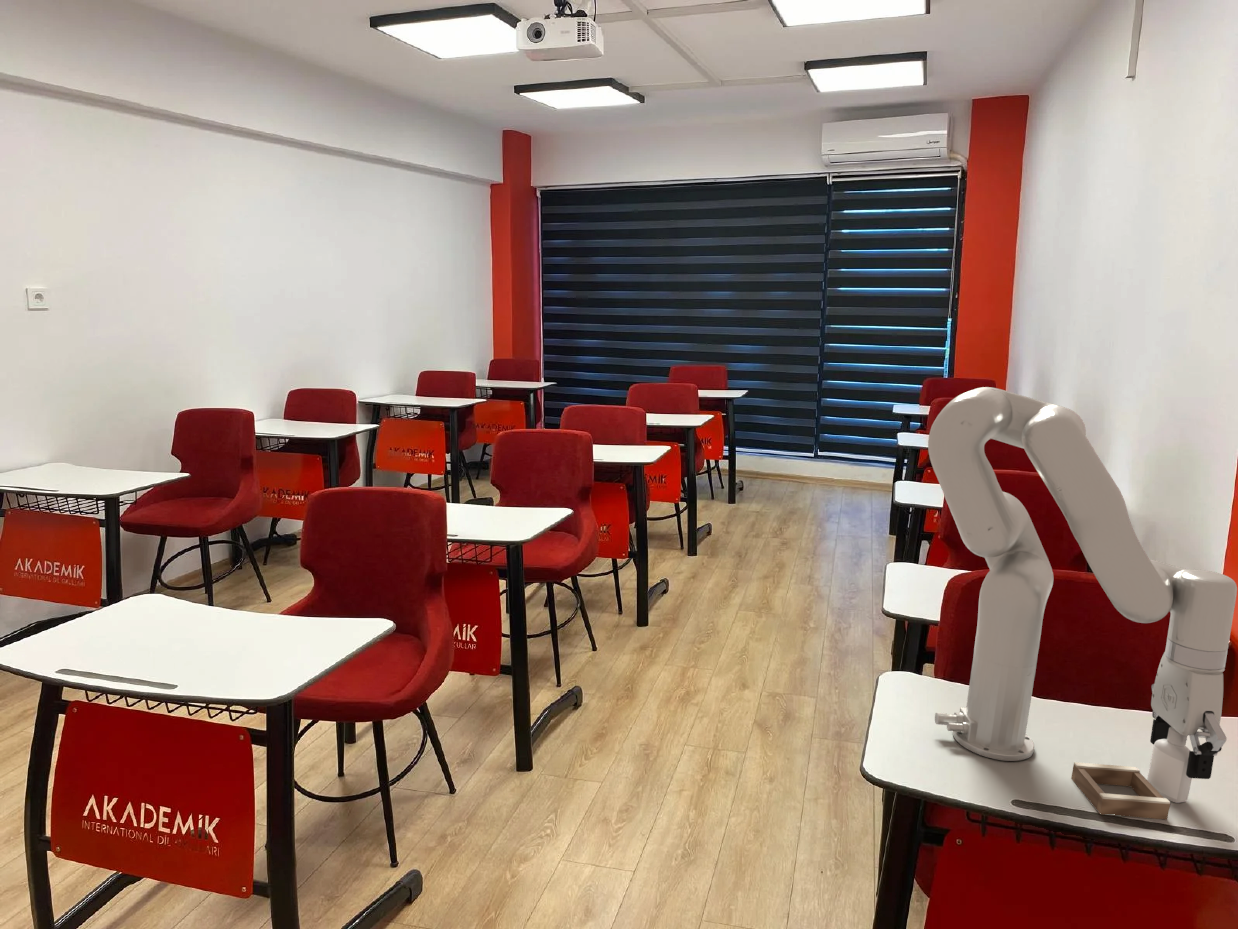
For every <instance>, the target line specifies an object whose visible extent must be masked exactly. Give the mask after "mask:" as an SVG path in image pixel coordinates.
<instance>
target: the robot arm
mask: <svg viewBox="0 0 1238 929" xmlns="http://www.w3.org/2000/svg"><path fill="white" fill-rule="evenodd" d="M934 419H935V420H934V421H933V423H932V424H931V427H930V429H929V434H928V441H927V448H928V450H927V451H928V455H929V460H930V463H931V466H932V469H933V472H934V474H935V476H936V478H937V481H938V483H939V486H940V488H941V490H942V493H943V496H944V499H945V501H946V504H947V505H948V508H949V511H950V513H951V516H952V518H953V520H954V523H955V525H956V528H957V530H958V533H959V535H960V539H961V540H962V542H963V544H964V545H965V547H966V548H967V549H968V550H969V551H970V552H971V553H972V554H974V555H975V556H978V557H980V558H981V557H982V558H984V559H985V562H986V564H987V567H988V568H989V571H988V572H987V574H986V575H985V578H984V579H983V581H982V584H981V587H980V590H979V594H978V595H979V598H978V611H977V612H978V613H977V626H976V633H975V639H974V640H975V641H974V648H973V656H972V657H973V658H972V663H971V670H970V679H969V685H968V691H967V692H968V694H967V699H966V707H964V706H962V707H961V706H960V707H959V712H954V713H953V714H950V713H944V712H935V714H934V723H935V724H936V725H937V726H938V725H941V726H946V729H947V731H948V732H949V731H950V732H952V736H953V738H954V739H955V740H956V742H958V744H960V746H962V747H963V748H965V749H966V750H968V751H970V752H972V753H974V754H977V755H979V756H983V757H985V758H990V759H992V760H998V761H1005V762H1017V761H1019V762H1020V761H1023V760H1027V759H1029V758H1030V757H1032V756H1033V754H1034V750H1035V743H1034V741H1033V740H1032V738H1031V737H1030V736H1029V735H1028V734H1027V730H1028V729H1027V727H1028V721H1029V714H1030V708H1031V703H1032V702H1031V701H1032V695H1033V688H1034V681H1035V678H1036V672H1037V671H1036V669H1037V663H1038V654H1039V651H1040V650H1039V649H1040V644H1041V643H1040V642H1041V635H1042V628H1043V627H1042V626H1043V622H1044V621H1043V619H1044V614H1045V609H1046V606H1047V602H1048V599H1049V596H1050V594H1051V592H1052V588H1053V587H1054V586H1053V585H1054V572H1053V568H1052V566H1051V563H1050V561H1049V557H1048V555H1047V553H1046V551H1045V549H1044V547H1043V545H1042V541H1041V540H1040V537H1039V535H1038V533H1037V530H1036V528H1035V526H1034V523H1033V522H1032V521H1033V520H1032V518H1031V517H1030V514H1029V512H1028V510H1027V509H1026V507H1025V506H1024V505H1023V503H1022V502H1021V501H1020V500H1019V499H1018V498H1017V497H1015V495H1012V494H1011V493H1009V492H1005V491H1003V490H1002V488H1001V486H1000V483H999V482H998V479H997V475H996V473H995V471H994V469H993V467H992V465H991V463H990V461H989V460H988V457H987V456H986V455H987V454H986V453H985V452H986V451H985V445H986V443H987V442H988V441H989V440H995V441H998V442H1001V443H1005V444H1008V445H1010V446H1013V447H1017V448H1021V449H1024V451H1025V453H1026V455H1027V457H1028V459H1029V460H1030V462H1031V463H1032V465H1033V467H1034V469H1035V470H1036V472H1037V473H1038V475H1039V477H1040V478H1041V480H1042V481H1043V483H1044V485H1045V486H1046V488H1047V489H1048V491H1049V493H1050V495H1051V496H1052V497H1053V500H1054V501H1055V503H1056V504H1057V506H1058V507H1059V509H1060V511H1061V512H1062V514H1063V516H1064V518H1065V520H1066V521H1067V524H1068V526H1069V529H1070V532H1071V533H1072V535H1073V537H1074V539H1075V540H1076V542H1077V543H1078V545H1079V547H1080V550H1081V551H1082V553H1083V556H1084V558H1085V560H1086V562H1087V563H1088V566H1089V568H1090V569H1091V571H1092V573H1093V574H1094V577H1095V578H1096V580H1097V581H1098V584H1099V585H1100V586H1101V588H1102V589H1103V591H1104V592H1105V594H1106V596H1107V598H1108V599H1109V600H1110V602H1111V604H1112V605H1113V607H1114V608H1115V609H1116V611H1117V612H1119V614H1121V615H1122V616H1123V617H1124V618H1125V619H1128V620H1130V621H1131V622H1135V623H1138V624H1139V623H1141V624H1151V623H1155V622H1158V621H1160V620H1162V619H1164V618H1165V617H1166V616H1167V615H1168V613H1170V617H1169V625H1168V630H1167V637H1166V643H1165V644H1166V645H1165V650H1164V652H1163V654H1162V657H1161V659H1160V662H1159V665H1158V668H1157V671H1156V672H1157V673H1156V676H1155V679H1154V683H1152V684H1151V693H1152V694H1151V700H1150V707H1151V709H1152V712H1151V716H1152V718H1153V721H1152V726H1151V733H1150V743H1151V744H1152V745H1153V746H1154V743H1155V742H1156V741H1157V740H1160V739H1167V736H1168V731H1169V727H1173V728H1174V729H1175V730H1176V731H1177V732H1179V733H1180V734H1182V735H1184V736H1187V737H1189V739H1190V744H1191V747H1192V748H1191V749H1192V750H1190V752H1189V758H1188V764H1187V771H1186V775H1187V776H1188V777H1189V778H1192V779H1196V780H1197V779H1198V780H1199V779H1201V780H1210V778H1211V777H1212V772H1213V765H1214V759H1215V757H1216V756H1218V754H1219V753H1220V752H1221V751H1222V749H1223V748H1222V747H1223V746H1224V745H1225V743H1226V742H1227V737H1226V734H1225V732H1224V730H1223V729H1222V727H1221V725H1220V724H1221V719H1222V712H1223V711H1222V710H1223V701H1224V700H1223V698H1224V673H1223V672H1224V671H1225V670H1226V669H1225V668H1226V663H1227V655H1228V649H1229V646H1230V644H1229V642H1230V637H1231V632H1232V626H1233V619H1234V613H1235V606H1236V601H1237V596H1238V594H1237V593H1238V587H1237V586H1238V585H1237V583H1236V582H1235V580H1234V579H1232V578H1231V577H1229V576H1228V575H1225V574H1223V573H1220V572H1216V571H1211V570H1206V569H1188V568H1184V567H1181V566H1176V565H1172V564H1169V563H1166V562H1163V561H1160V560H1156V559H1151V558H1149V556H1148V554H1147V553H1146V551H1145V549H1144V547H1143V546H1142V544H1141V542H1140V540H1139V538H1138V536H1137V534H1136V532H1135V530H1134V528H1133V525H1132V523H1131V520H1130V516H1129V513H1128V509H1127V505H1126V502H1125V499H1124V497H1123V495H1122V492H1121V490H1120V488H1119V487H1118V485H1117V484H1116V482H1115V480H1114V478H1113V477H1112V476H1111V474H1110V473H1109V471H1108V469H1107V468H1106V466H1105V465H1104V463H1103V462H1102V460H1101V458H1100V457H1099V455H1098V454H1097V452H1096V451H1095V449H1094V447H1093V446H1092V444H1091V442H1090V441H1089V439H1088V438H1087V436H1086V434H1087V433H1086V432H1087V430H1086V424H1085V422H1084V420H1083V419H1082V417H1081V416H1080V415H1079V414H1078V413H1077V412H1075V411H1074V410H1072V409H1071V408H1067V407H1065V406H1062V405H1057V404H1054V403H1050V402H1047V401H1042V400H1039V399H1035V398H1033V397H1032V398H1031V397H1029V396H1024V395H1022V394H1019V393H1015V392H1011V391H1007V390H1004V389H1001V388H997V387H989V386H985V387H984V386H982V387H977V388H974V389H971V390H968V391H966V392H963V393H960V394H959V395H957V396H955V397H954V398H953V399H951V400H950V401H949V402H948V403H947V404H946V405H945V406H944V407H943V408H942V409H941V411H940V412H939V413H938V414H937V416H936V418H934ZM1198 730H1200V731H1198ZM1199 738H1202V739H1203V738H1204V739H1205V742H1203V743H1201V742H1200V740H1199Z"/></svg>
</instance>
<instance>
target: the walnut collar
mask: <svg viewBox="0 0 1238 929" xmlns="http://www.w3.org/2000/svg"><path fill="white" fill-rule="evenodd" d="M1143 775H1144V774H1143ZM1143 775H1142V773H1141V770H1140V769H1139V768H1138V767H1137V766H1127V765H1126V766H1125V765H1116V764H1103V763H1101V764H1100V763H1092V762H1091V763H1090V762H1089V763H1087V762H1077V761H1075V762H1073V766H1072V771H1071V778H1070V779H1071V780H1072V781H1073V783H1075V785H1076V786H1077V788H1078V789H1079V790H1080V792H1082V794H1083V795H1084V794H1085V795H1084V796H1085V798H1086V799H1087V798H1088V799H1087V800H1088V801H1089V802H1090V804H1091V803H1092V804H1093V805H1092V804H1091V805H1092V807H1094V809H1095V808H1096V809H1097V810H1098V811H1099V812H1098V811H1097V810H1096V809H1095V810H1096V811H1097V812H1098V814H1100V813H1101V814H1100V815H1104V814H1115V815H1114V816H1116V815H1121V816H1120V817H1130V818H1142V819H1153V820H1154V819H1155V820H1166V821H1167V820H1168V817H1169V812H1170V807H1171V801H1170V800H1168V799H1167V798H1164V797H1163V796H1162V795H1161V794H1160V793H1159V792H1158V791H1157V790H1156V789H1155V788H1154V787H1153V786H1152V785H1151V784H1150V783H1149V782H1148V781H1147V778H1146V777H1145V776H1143ZM1099 785H1109V786H1120V787H1130V788H1131V789H1132V790H1133V791H1134V792H1135V793H1136V795H1129V794H1116V793H1105V791H1103V789H1102V788H1101V787H1100V786H1099Z"/></svg>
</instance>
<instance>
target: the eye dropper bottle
mask: <svg viewBox="0 0 1238 929" xmlns="http://www.w3.org/2000/svg"><path fill="white" fill-rule="evenodd" d="M1187 741H1188V736H1184V735H1182V734H1180V733H1179V732H1177V731H1176V730H1175V729H1174V728H1173V727H1169V731H1168V736H1167V739H1160V740H1157V741H1156V742H1155V743H1154V745H1153V748H1152V751H1151V752H1152V753H1151V756H1150V757H1151V758H1150V762H1149V768H1148V772H1147V778H1146V780H1147V781H1148V782H1149V783H1150V784H1151V785H1152V786H1153V787H1154V788H1155V789H1156V790H1157V791H1158V792H1159V793H1160V794H1161V795H1162V796H1163V797H1164V798H1167V799H1168V800H1169V801H1170V802H1172V803H1176V804H1180V803H1186V802H1187V801H1188V799H1189V794H1190V789H1191V784H1192V780H1193V778H1189V777H1188V776H1187V775H1186V771H1187V764H1188V758H1189V752H1190V751H1191V749H1189V748H1188V746H1186V745H1187Z"/></svg>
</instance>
